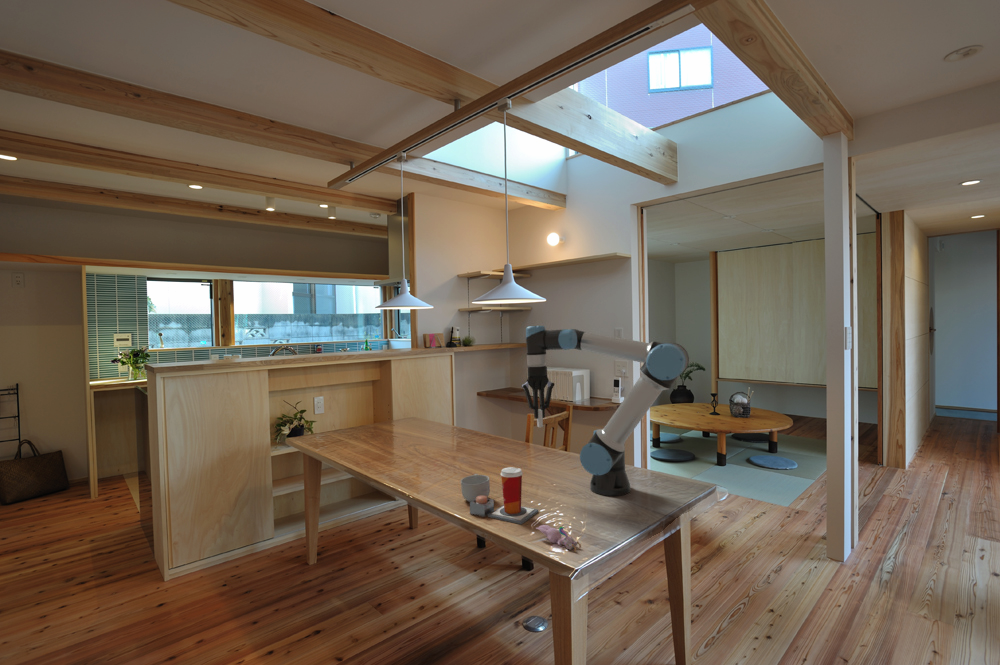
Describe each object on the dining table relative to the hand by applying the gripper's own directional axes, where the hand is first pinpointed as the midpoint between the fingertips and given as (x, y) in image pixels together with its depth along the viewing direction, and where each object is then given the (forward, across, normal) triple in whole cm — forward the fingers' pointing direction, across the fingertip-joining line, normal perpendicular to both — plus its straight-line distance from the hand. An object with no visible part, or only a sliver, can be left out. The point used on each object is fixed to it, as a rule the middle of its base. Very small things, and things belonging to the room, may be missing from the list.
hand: (540, 426), depth 182 cm
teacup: (+25, +26, -1) cm, 36 cm away
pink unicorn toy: (+26, +9, +42) cm, 51 cm away
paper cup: (+24, +16, +18) cm, 34 cm away
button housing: (+25, +26, +13) cm, 39 cm away
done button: (+23, +26, +13) cm, 37 cm away
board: (+25, +16, +18) cm, 35 cm away
